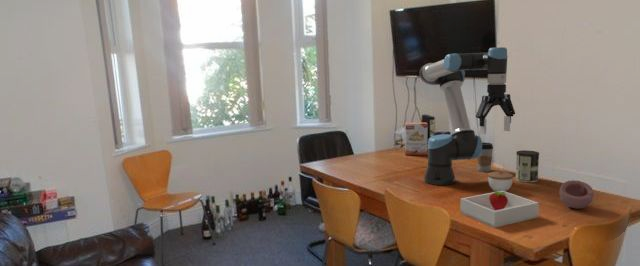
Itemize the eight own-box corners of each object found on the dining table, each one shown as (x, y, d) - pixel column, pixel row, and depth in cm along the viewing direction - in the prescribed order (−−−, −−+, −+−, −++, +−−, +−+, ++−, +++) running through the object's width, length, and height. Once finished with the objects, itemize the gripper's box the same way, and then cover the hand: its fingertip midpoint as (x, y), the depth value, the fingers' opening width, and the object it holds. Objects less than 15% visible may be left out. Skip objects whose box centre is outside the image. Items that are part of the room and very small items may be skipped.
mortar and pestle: (560, 211, 174) (562, 183, 172) (556, 202, 185) (558, 175, 183) (595, 214, 170) (597, 185, 168) (589, 204, 181) (591, 177, 179)
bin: (460, 212, 176) (460, 198, 175) (501, 204, 184) (502, 190, 183) (494, 227, 159) (494, 212, 158) (537, 217, 168) (538, 202, 167)
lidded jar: (501, 195, 196) (501, 175, 195) (482, 189, 206) (483, 170, 204) (517, 191, 201) (518, 171, 199) (498, 185, 210) (499, 167, 209)
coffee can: (534, 177, 223) (536, 150, 221) (540, 182, 213) (542, 154, 211) (513, 176, 225) (514, 150, 223) (517, 182, 215) (519, 154, 213)
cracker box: (405, 155, 283) (405, 123, 279) (405, 153, 289) (405, 122, 285) (427, 155, 280) (427, 123, 277) (426, 153, 286) (427, 122, 283)
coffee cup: (475, 172, 237) (476, 144, 234) (476, 168, 244) (477, 142, 242) (492, 173, 234) (493, 145, 231) (492, 169, 241) (493, 142, 239)
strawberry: (495, 208, 176) (496, 184, 175) (511, 214, 170) (512, 189, 168) (484, 211, 174) (485, 187, 172) (500, 217, 167) (501, 191, 165)
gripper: (480, 85, 180) (479, 136, 184) (525, 82, 190) (523, 130, 193) (467, 84, 187) (466, 133, 190) (511, 82, 197) (509, 128, 200)
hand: (495, 132), depth 192 cm, fingers open, 13 cm apart
